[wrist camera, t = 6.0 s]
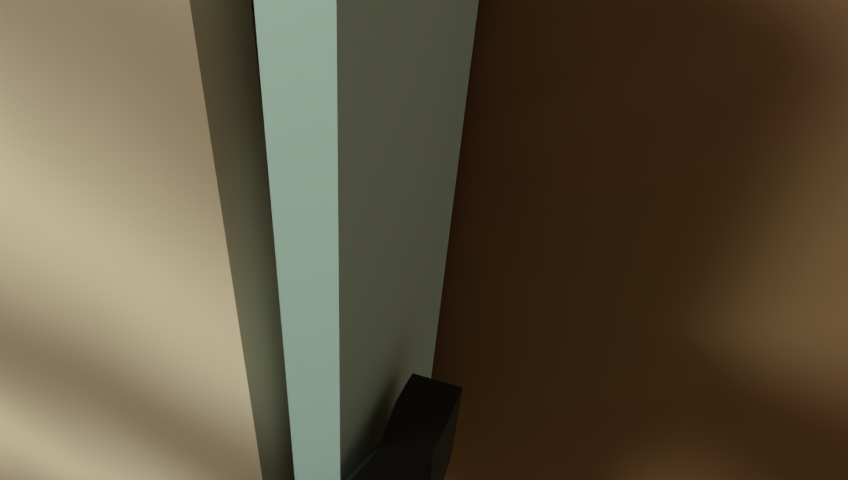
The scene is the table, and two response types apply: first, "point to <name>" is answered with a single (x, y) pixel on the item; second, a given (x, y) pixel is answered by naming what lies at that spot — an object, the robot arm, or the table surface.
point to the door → (359, 204)
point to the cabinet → (137, 246)
